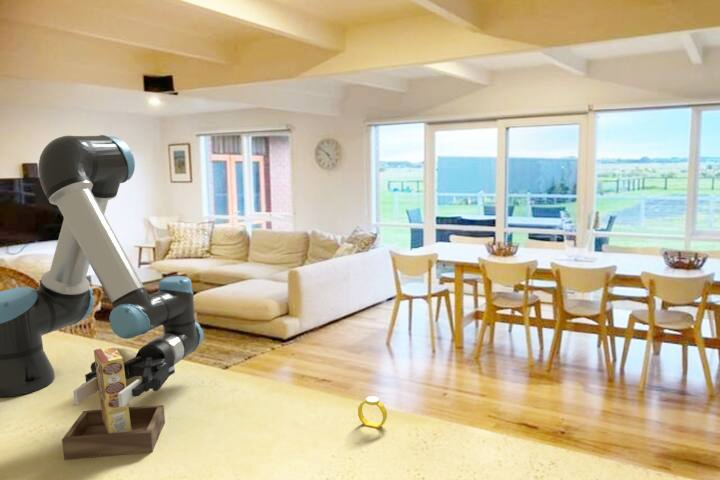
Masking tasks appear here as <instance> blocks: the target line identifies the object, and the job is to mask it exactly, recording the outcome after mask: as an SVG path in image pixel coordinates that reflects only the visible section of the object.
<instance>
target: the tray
mask: <svg viewBox="0 0 720 480" xmlns="http://www.w3.org/2000/svg"><path fill="white" fill-rule="evenodd" d="M164 406H165V405H164V404H154V405H141V406H140V405H139V406H129V414H130V422H131V432H121V433H109V434H108V431H107V429H106V427H105V425H104V422H103V418H102V410H101V409H91V410H90V409H89V410H83V411H82V412H81V413H80V414H79V416H78V418H77V419H76V420H75V422H74V423H73V424H72V425H71V427H69V430H68V431H67V433H66V434H64V436H63V437H62V438H61V446H62V453H63V460H64V461H65V460H75V459H86V458H97V457H98V458H99V457H109V456H120V455H132V454H133V455H134V454H144V453H153V452H154V449H155V447H156V444H157V443H158V439H159V437H160V435H161V433H162V430H163V428H164V426H165V423H166V420H165V419H166V418H165V407H164Z"/></svg>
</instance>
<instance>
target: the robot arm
mask: <svg viewBox="0 0 720 480" xmlns="http://www.w3.org/2000/svg"><path fill="white" fill-rule="evenodd" d="M135 164H136V161H135V157H134V154H133V153H132V149H131V148H130V146H129V145H128V144H127V143H126V142H125V141H124V140H122V139H121V138H119V137H117V136H113V135H112V136H111V135H104V134H100V135H64V136H60V137H56V138H55V139H52V140H51V141H50V142H49V143H47V145H46V146H45V147H44V148H43V150H42V152H41V154H40V157H39V160H38V171H37V172H38V178H39V182H40V186H41V187H42V191H43V192H44V194H45V197H46V198H47V200H48V201H49V203H50V204H51V205H55V206H57V207H58V209H59V211H60V213H61V215H62V216H63V221H62V223H61V229H60V232H59V236H58V238H57V239H58V240H57V242H56V245H55V246H56V247H55V251H54V253H53V254H54V255H53V257H52V262H51V266H50V269H49V270H47V271H46V272H44V273H43V274H42V275H41V277H40V281H39V285H38V288H36V289H35V288H33V287H32V286H31V287H29V286H21V287H19V286H17V287H14V288H12V289H11V288H10V289H9V288H8V289H5V290H1V291H0V398H8V397H15V396H21V395H25V394H29V393H32V392H36V391H38V390H41V389H43V388H46V387H47V386H49V385H50V384H51V383H53V381H54V380H55V378H56V377H55V370H54V367H53V365H52V364H51V362H50V360H49V358H48V356H47V354H46V352H45V351H44V345H43V337H42V336H44V335H47V334H50V333H52V332H56V331H59V330H61V329H63V328H68V327H70V326H74V325H76V324H78V323H80V322H81V321H83V320H84V319H86V318H87V317H89V315H90V314H91V312H92V311H93V308H94V304H95V296H94V295H93V293H94V292H93V288H92V287H91V286H90V284H91V283H90V281H89V279H87V274H88V271H89V268H90V267H91V269H92V270H93V272H94V274H95V276H96V278H97V279H98V281H99V283H100V285H101V287H102V288H103V290H104V292H105V293H106V295H107V297H108V299H109V301H110V302H111V305H112V307H113V308H112V310H111V312H110V314H109V323H110V324H109V325H110V328H111V330H112V332H113V333H114V334H115V335H116V336H117V337H119V338H121V339H133V338H135V337H138V336H141V335H145V334H147V333H148V332H150V331H152V330H154V329H157V328H159V327H161V326H162V331H163V333H162V334H160V335H159V336H157V337H156V338H154V339H152V340H150V342H148V343H146V344H145V345H143V346H142V347H141V348H140V349H138V351H137V352H136V353H137V355H136V357H135V358H133V359H130V360H129V361H127V362H123V363H124V371H125V379H130V378H132V377H135V376H142V382H141V380H136V381H134V382H133V383H131V384H130V385H129V386H127V387H126V388H125V389H123V390H122V391H120V392H119V393H118V401H119V407H124V406H125V405H126V404H128V405H129V403H130V402H131V401H133V400H134V399H136V398H137V397H139V396H141V395H142V394H143V393H145V392H146V393H147V392H149V391H150V390H152V391H154V392H158V391H159V390H161V388H162V387H163V385H164V384H165V382H166V381H167V380H168V379H169V377H170V376H172V375H174V374H175V373H176V370H175V369H176V368H175V365H176V364H178V363H179V362H181V361H182V360H183V359H185V358H186V357H187V356H189V355H190V354H192V353H194V352H195V351H196V350H197V348H199V346H200V345H201V344H202V343H203V340H204V330H203V328H202V327H201V325H200V324H199V323H198V322H197V321H196V320H195V319H196V317H195V302H194V292H193V291H194V290H193V285H192V280H191V279H190V278H189V277H188V276H181V275H178V276H177V275H176V276H175V275H174V276H168V277H163V278H161V280H159V282H158V291H156V292H154V293H151V294H149V293H148V291H147V290H146V288H145V286H144V284H143V282H142V281H141V279H140V277H139V275H138V274H137V272H136V270H135V268H134V266H133V265H132V262H131V261H130V260H129V257H128V256H127V254H126V252H125V250H124V247H123V246H122V244H121V243H120V240H119V239H118V238H117V235H116V234H115V232H114V230H113V228H112V226H111V224H110V223H109V221H108V218H107V217H106V216H105V213H106V209H107V206H108V202H109V200H113V199H115V198H116V197H117V196H118V195H117V194H118V191H119V188H120V185H121V184H124V183H126V182H127V181H129V180H130V179H132V176H133V175H134V172H135V167H136V165H135ZM128 372H129V374H128ZM84 377H85V382H84V383H82V384H81V385H80V386H78V387H77V388H75V389H73V390H72V393H73V402H74V405H80V404H81V403H83V402H84V401H86V400H87V399H88V398H90V397H92V396H93V395H94V394H96V393H98V392H99V388H98V380H97V372H96V370H94V371H90V372H88V373H86V374H85V375H84Z"/></svg>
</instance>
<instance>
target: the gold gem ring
mask: <svg viewBox="0 0 720 480" xmlns="http://www.w3.org/2000/svg"><path fill="white" fill-rule="evenodd" d="M364 404H366V405H369V406H377V407H378V408H379V410H380V411H381V413H382V421H381V423H376V422H372V421H371V422H370V421H368V420H367V419H366V417H365V415H364V413H363V406H364ZM387 413H388V411H387V408H386V407H385V406H384V404H383V403H382V402H381V401H380V398H379V397H377V396H375V395H374V396H373V395H371V396H370V395H369V396H367V397H366V398H365V399H364V400H363V401H362V402H361V403H360V404H359V406H358V407H357V416H358V418H359V421H360V422H361V424H363V425H364V427H370V428H374V429H379V428H381V427H383V425H384V424H386V421H387V418H388V414H387Z"/></svg>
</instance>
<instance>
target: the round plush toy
mask: <svg viewBox="0 0 720 480" xmlns="http://www.w3.org/2000/svg"><path fill="white" fill-rule="evenodd" d="M115 348H116V349H117V351H118V352H119V353H120V355H121V356H122V358H123V362H127V361H129V360H130V359H133V358H135V357H136V355H137V353H138V352H136V351H133V350H130V349H128V348H124V347H123V348H120V347H119V348H117V347H115ZM90 370H91V371H90V372H92V371H94V370H96V365H95V361H93V362H92V363H91V364H90ZM128 374H129V372H128ZM125 380H126V387H127V386H129V385H130V384H131V383H133V382H134V381H136V380H141V382H142V376H135V377H132V378H130V379H125Z"/></svg>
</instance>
